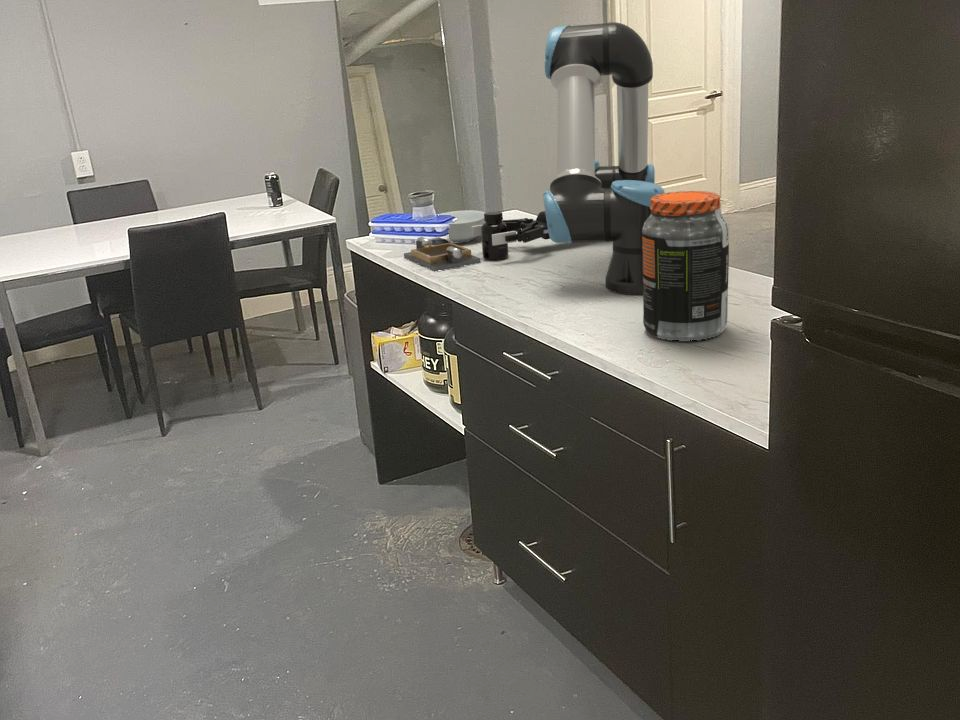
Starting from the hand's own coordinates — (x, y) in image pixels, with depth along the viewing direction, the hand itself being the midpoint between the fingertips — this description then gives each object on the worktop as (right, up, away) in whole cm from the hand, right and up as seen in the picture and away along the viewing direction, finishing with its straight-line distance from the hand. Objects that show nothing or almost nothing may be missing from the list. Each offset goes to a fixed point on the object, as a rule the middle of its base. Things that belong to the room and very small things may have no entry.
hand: (482, 235), depth 235 cm
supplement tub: (+39, -27, -61) cm, 77 cm away
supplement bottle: (+4, -6, +4) cm, 8 cm away
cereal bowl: (-6, +2, +27) cm, 28 cm away
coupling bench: (-11, -6, +5) cm, 13 cm away
